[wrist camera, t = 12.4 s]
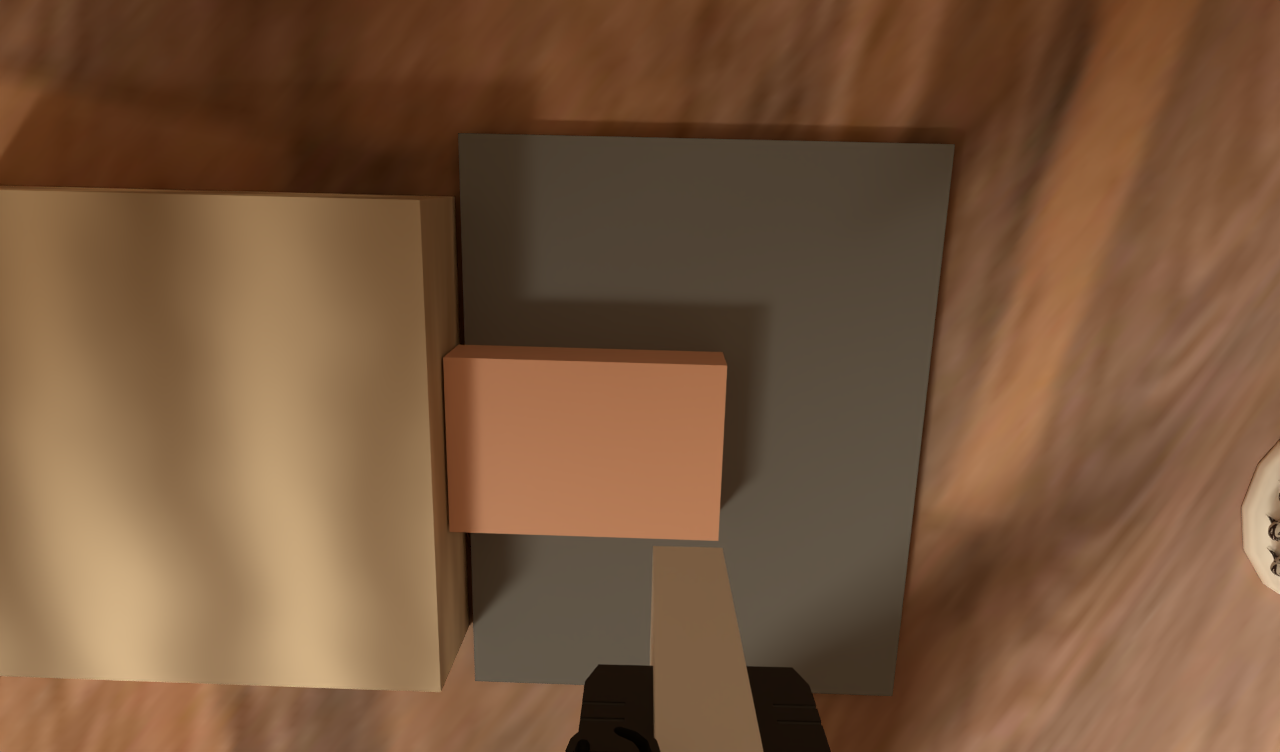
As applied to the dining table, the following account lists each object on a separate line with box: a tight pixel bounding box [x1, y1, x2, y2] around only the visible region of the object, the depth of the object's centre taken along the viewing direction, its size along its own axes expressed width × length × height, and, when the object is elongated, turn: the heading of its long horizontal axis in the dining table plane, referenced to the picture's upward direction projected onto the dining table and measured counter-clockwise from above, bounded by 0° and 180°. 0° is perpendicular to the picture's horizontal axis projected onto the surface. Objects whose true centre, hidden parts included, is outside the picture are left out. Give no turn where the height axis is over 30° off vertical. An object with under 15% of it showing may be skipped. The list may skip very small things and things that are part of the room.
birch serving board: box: [0, 185, 469, 692], centre depth 27 cm, size 16×16×4 cm
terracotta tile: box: [443, 345, 727, 541], centre depth 27 cm, size 9×6×2 cm, turn 89°
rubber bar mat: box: [458, 133, 955, 696], centre depth 28 cm, size 16×20×1 cm
